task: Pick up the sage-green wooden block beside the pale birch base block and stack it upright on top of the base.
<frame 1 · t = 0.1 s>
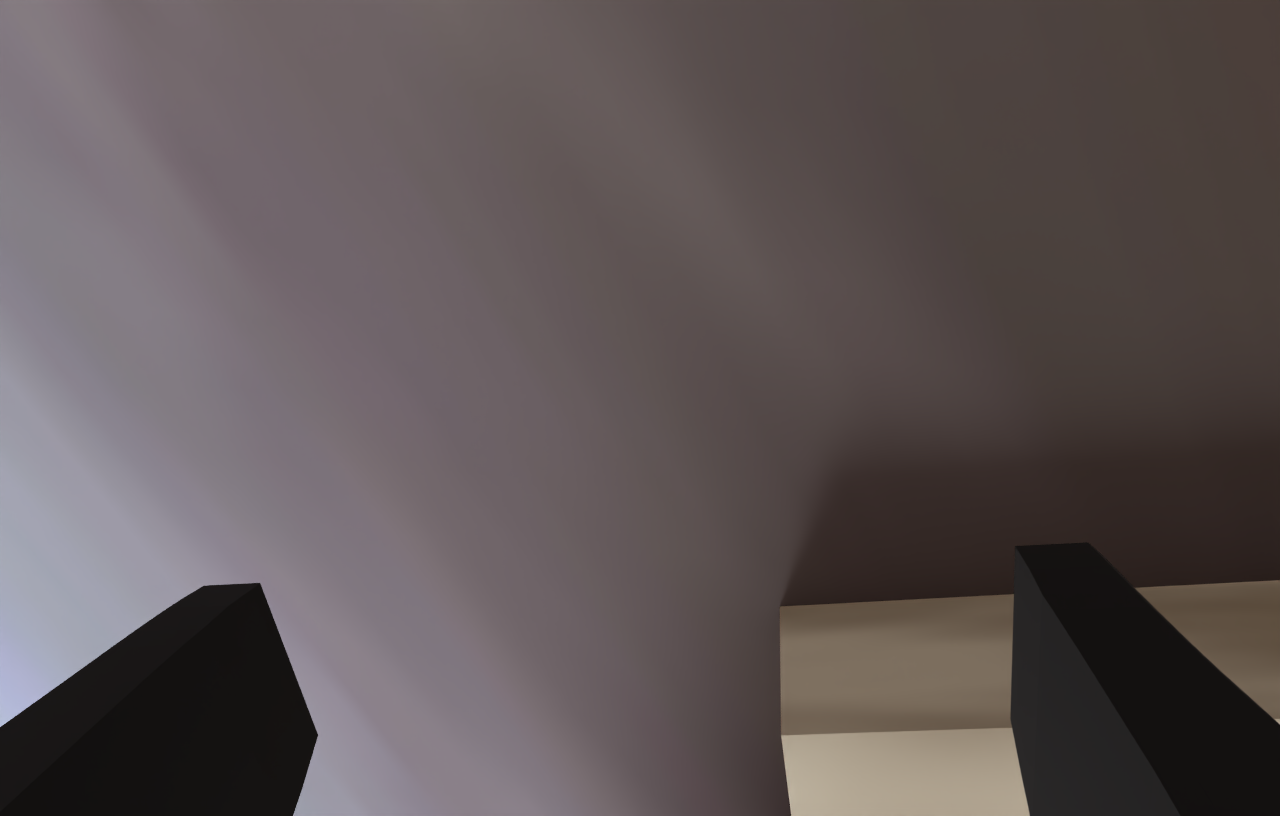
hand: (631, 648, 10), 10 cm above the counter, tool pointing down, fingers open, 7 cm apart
birch base: (1020, 758, 24), on the counter
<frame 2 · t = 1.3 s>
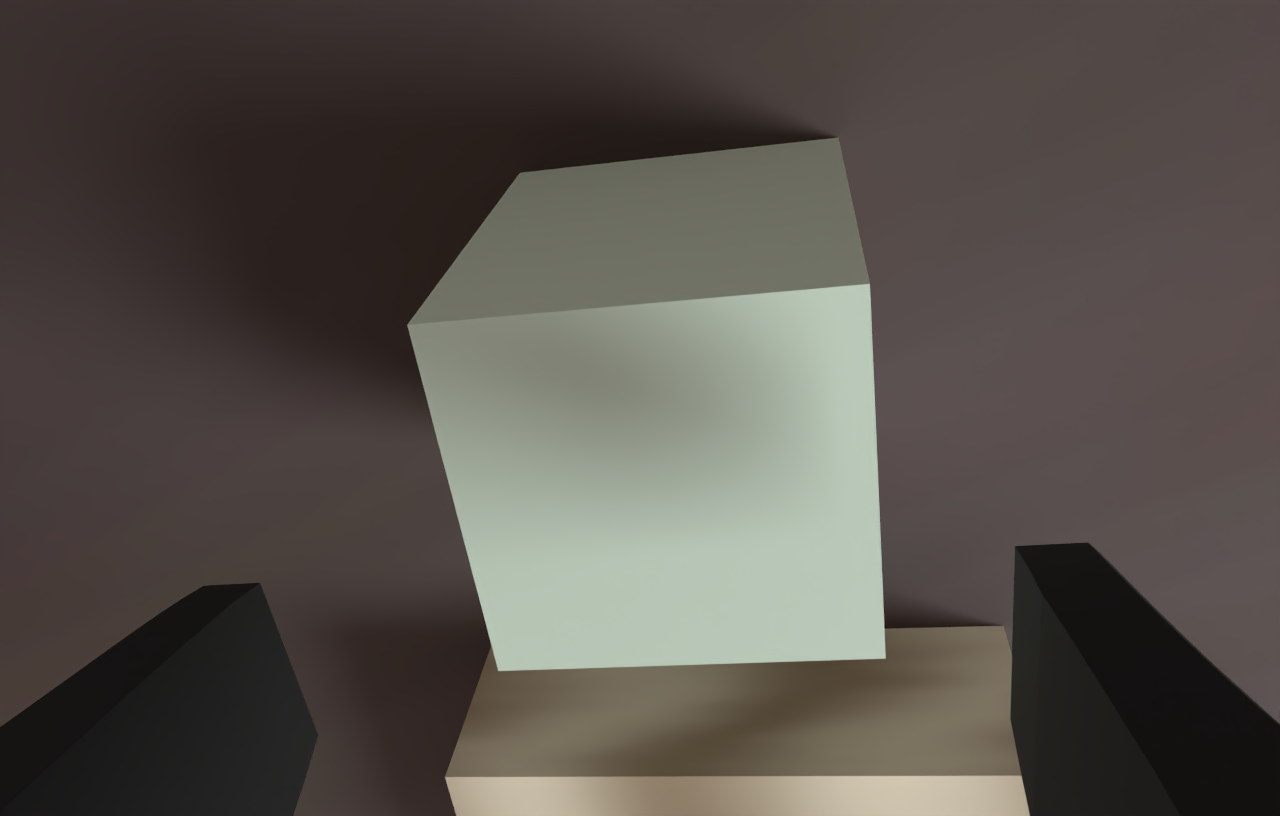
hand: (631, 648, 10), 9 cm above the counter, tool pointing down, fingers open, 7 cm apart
sage block: (694, 302, 18), on the counter
birch base: (757, 798, 23), on the counter
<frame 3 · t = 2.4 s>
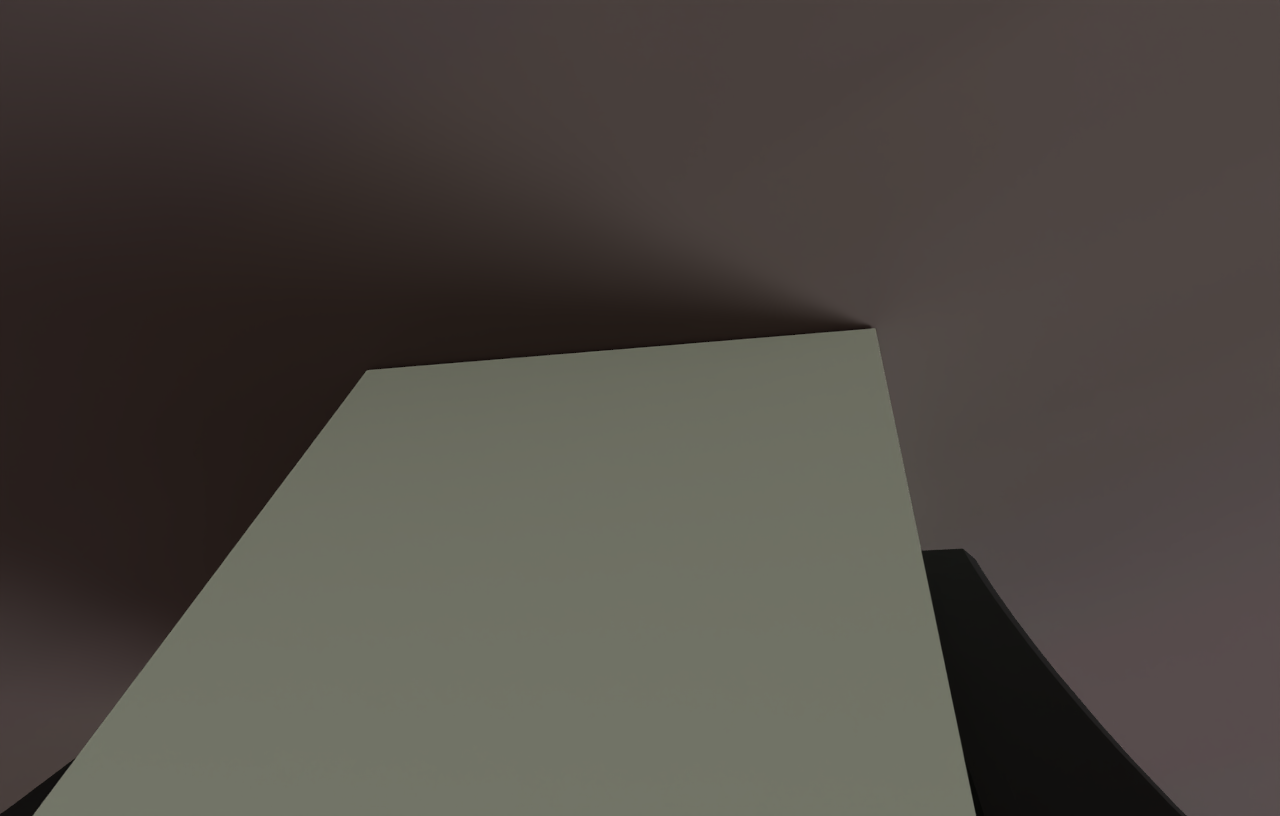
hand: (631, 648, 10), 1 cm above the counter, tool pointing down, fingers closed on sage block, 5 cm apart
sage block: (646, 559, 11), on the counter, touching gripper
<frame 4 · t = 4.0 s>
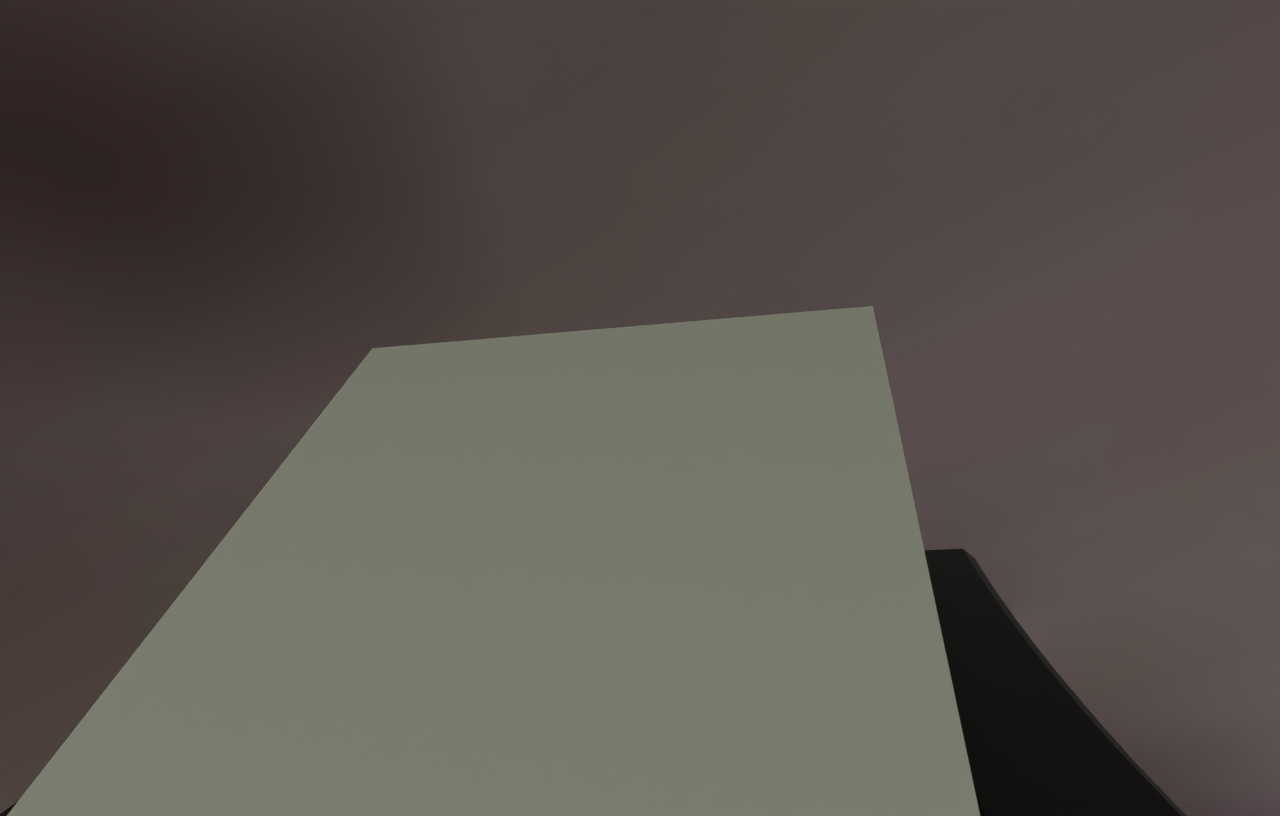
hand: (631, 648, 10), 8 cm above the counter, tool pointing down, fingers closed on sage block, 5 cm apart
sage block: (647, 537, 12), point 7 cm above the counter, touching gripper
when the fingers open (6 cm above the counter, at t = 5.6 s): sage block moves 1 cm, resting on birch base.
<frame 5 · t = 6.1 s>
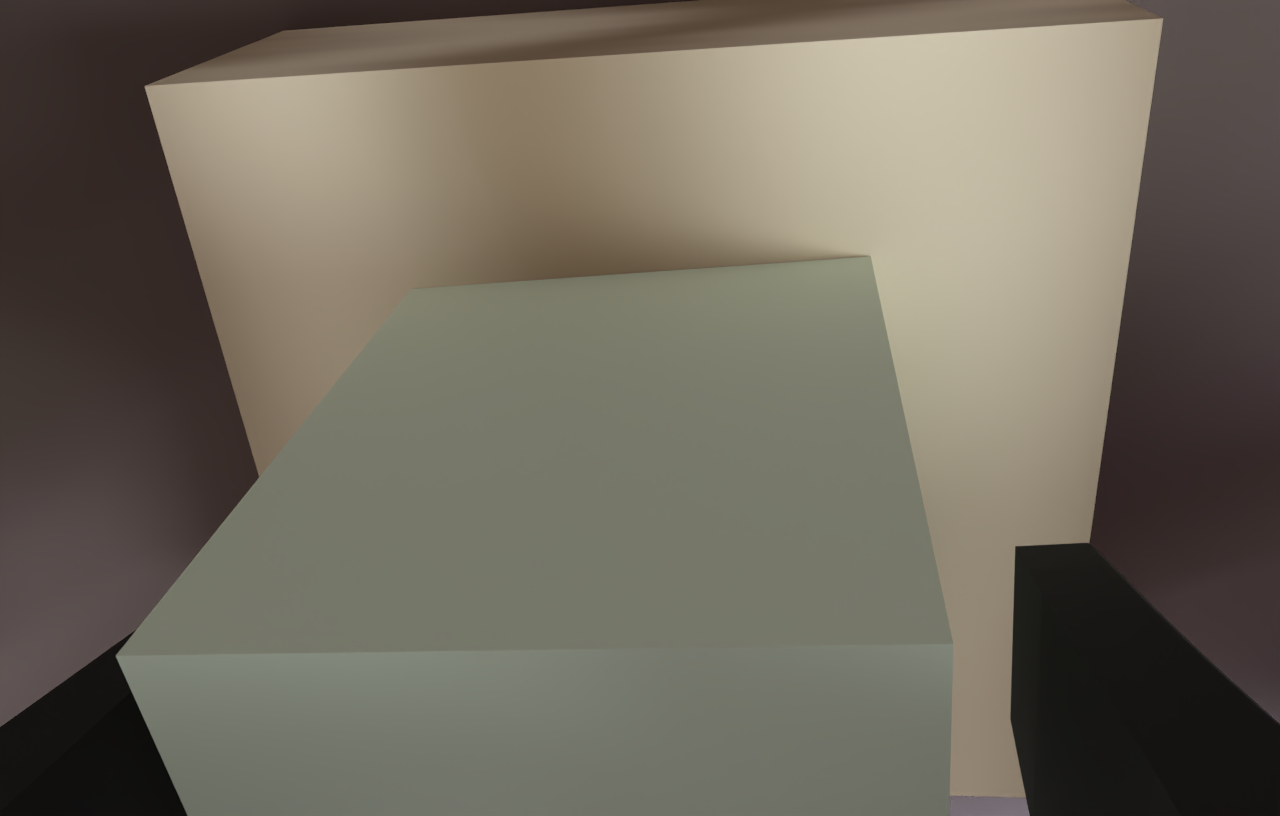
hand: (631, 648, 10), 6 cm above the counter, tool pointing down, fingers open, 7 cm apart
sage block: (658, 471, 13), point 4 cm above the counter, touching birch base
birch base: (683, 346, 16), on the counter, touching sage block
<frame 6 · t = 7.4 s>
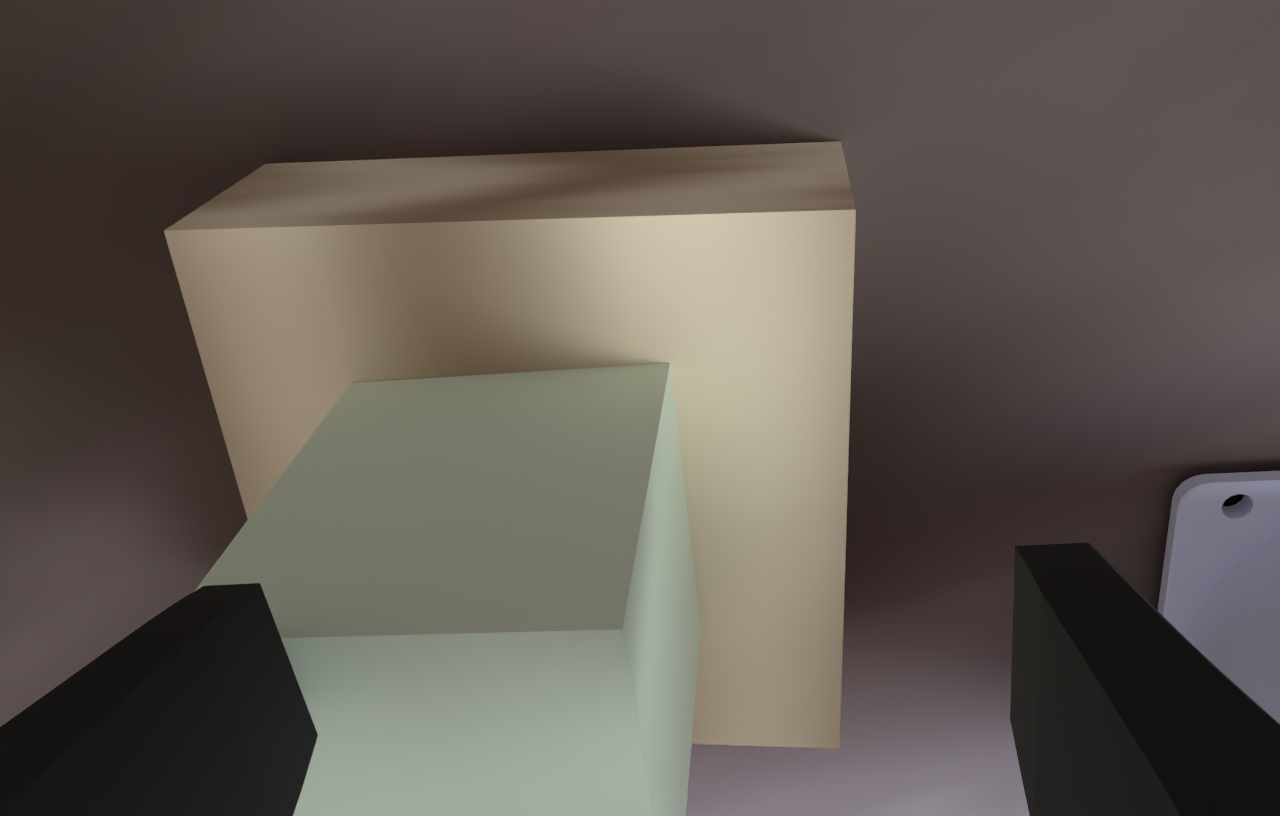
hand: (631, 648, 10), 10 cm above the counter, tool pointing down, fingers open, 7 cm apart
sage block: (533, 510, 17), point 4 cm above the counter, touching birch base
birch base: (575, 400, 21), on the counter, touching sage block
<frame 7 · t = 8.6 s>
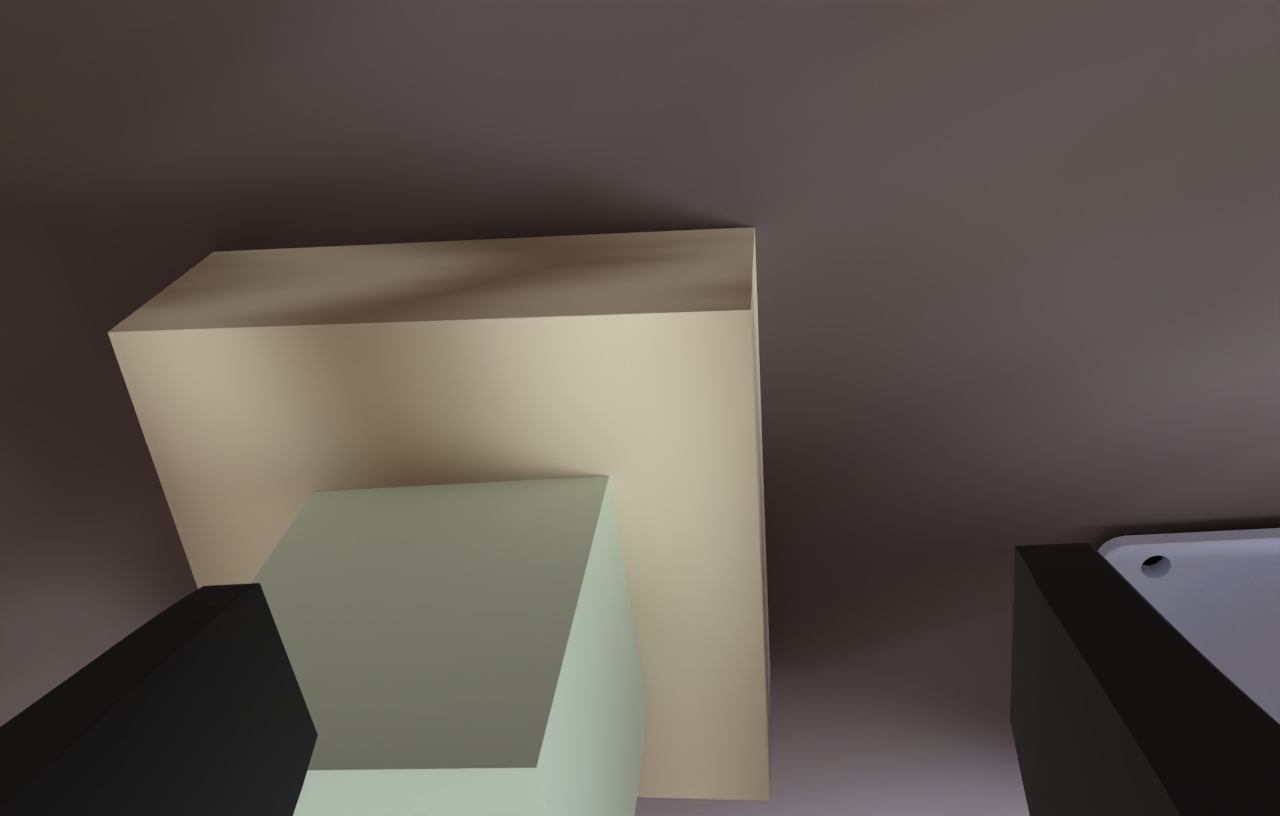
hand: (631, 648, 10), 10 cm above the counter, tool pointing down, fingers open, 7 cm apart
sage block: (488, 605, 18), point 4 cm above the counter, touching birch base
birch base: (517, 465, 22), on the counter, touching sage block
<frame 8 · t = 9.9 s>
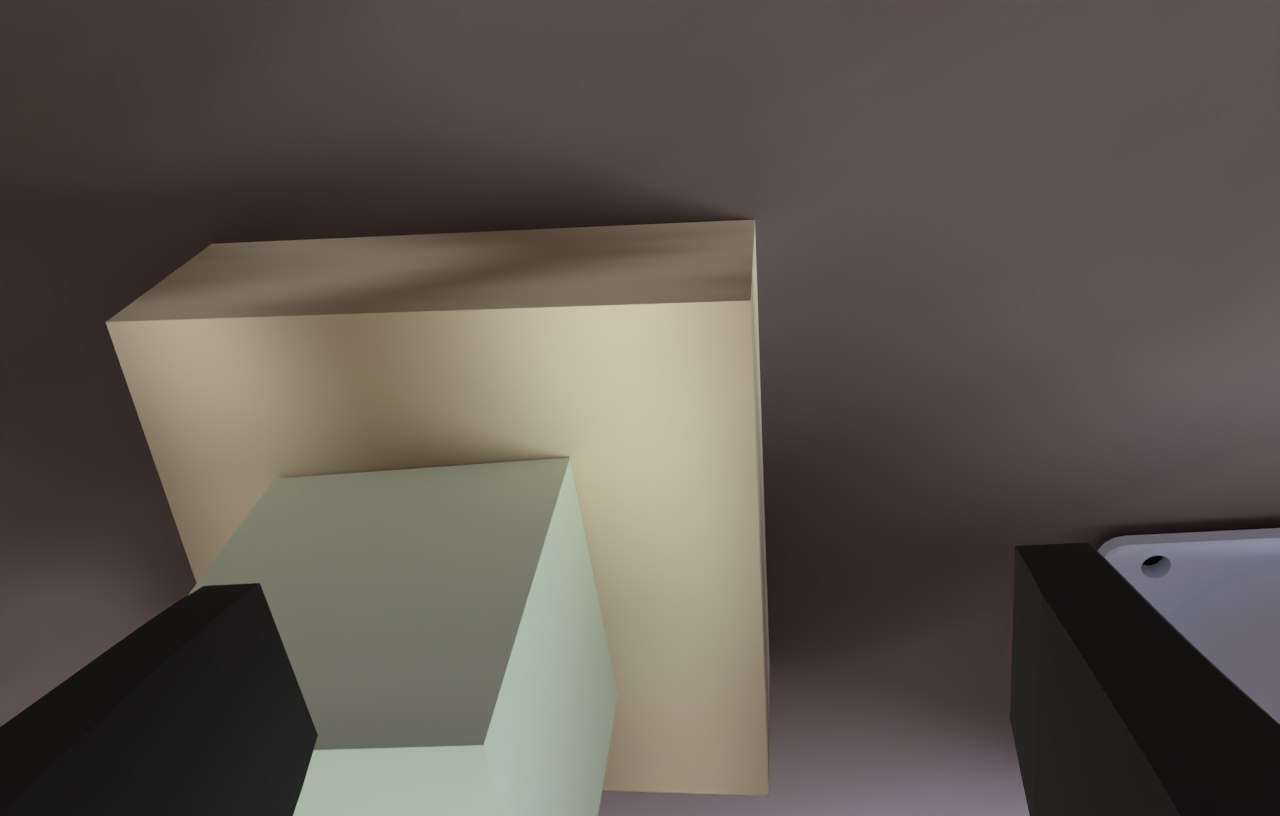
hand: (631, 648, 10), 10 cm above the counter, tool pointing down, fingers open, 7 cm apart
sage block: (453, 591, 18), point 4 cm above the counter, touching birch base
birch base: (517, 459, 22), on the counter, touching sage block
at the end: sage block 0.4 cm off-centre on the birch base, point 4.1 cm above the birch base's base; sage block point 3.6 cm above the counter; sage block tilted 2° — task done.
